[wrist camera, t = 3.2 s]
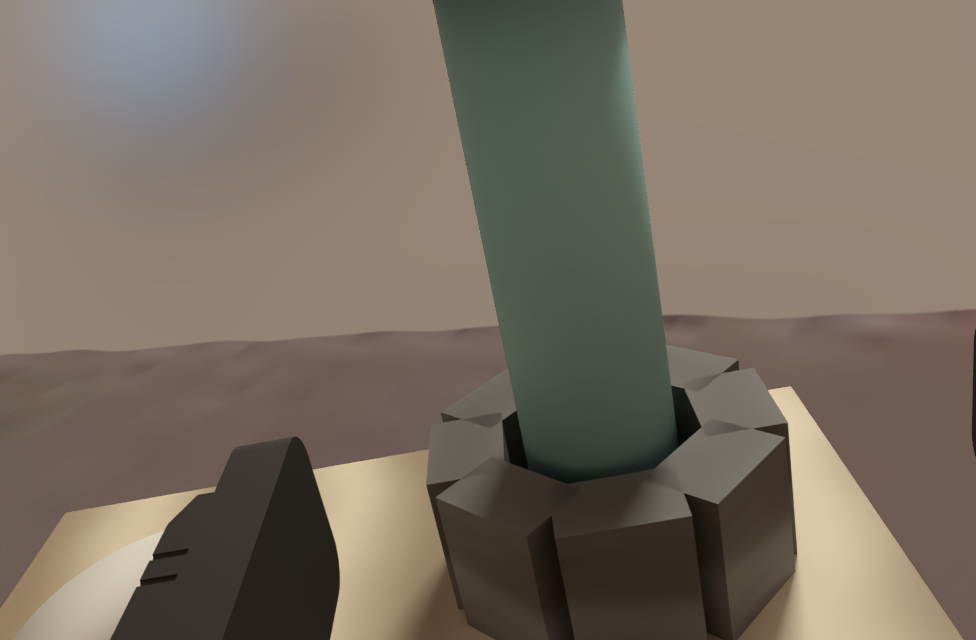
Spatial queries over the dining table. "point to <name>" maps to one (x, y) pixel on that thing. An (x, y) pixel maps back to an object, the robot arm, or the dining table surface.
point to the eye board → (422, 582)
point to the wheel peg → (564, 228)
